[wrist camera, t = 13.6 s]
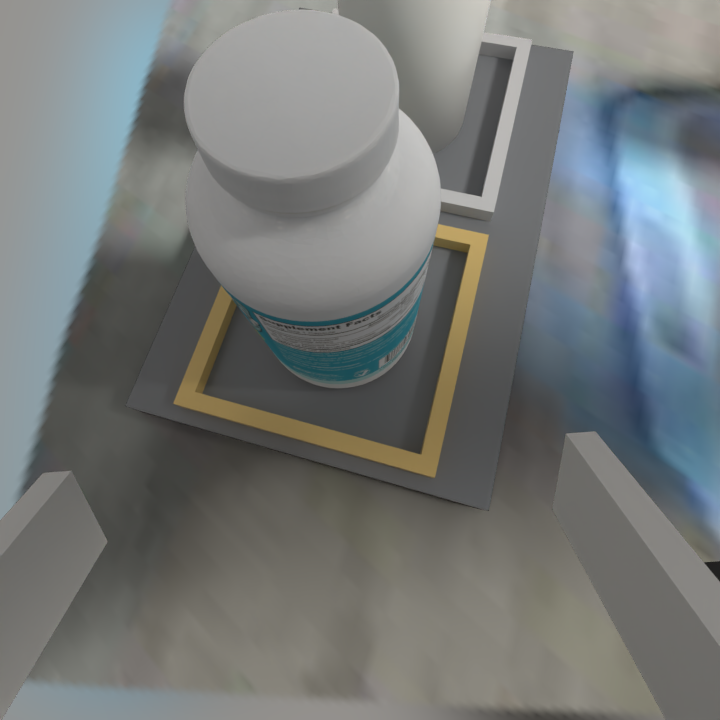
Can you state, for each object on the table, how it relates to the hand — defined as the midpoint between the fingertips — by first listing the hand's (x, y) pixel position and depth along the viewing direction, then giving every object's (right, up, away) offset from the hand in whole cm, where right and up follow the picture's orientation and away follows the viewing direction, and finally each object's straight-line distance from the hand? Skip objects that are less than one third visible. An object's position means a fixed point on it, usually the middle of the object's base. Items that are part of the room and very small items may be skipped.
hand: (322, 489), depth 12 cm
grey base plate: (+2, +12, +14) cm, 18 cm away
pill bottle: (0, +5, +10) cm, 12 cm away
